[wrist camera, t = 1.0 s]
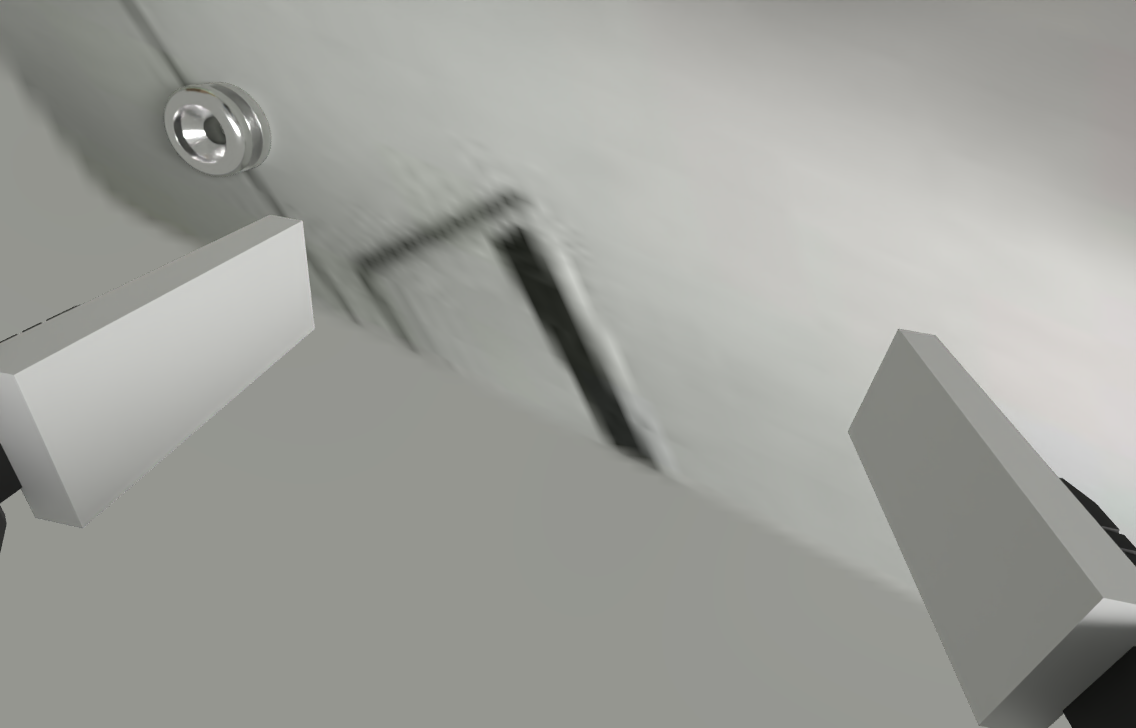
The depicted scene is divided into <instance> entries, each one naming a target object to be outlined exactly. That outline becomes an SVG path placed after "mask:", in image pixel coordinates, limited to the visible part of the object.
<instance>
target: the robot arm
mask: <svg viewBox="0 0 1136 728" xmlns="http://www.w3.org/2000/svg"><path fill="white" fill-rule="evenodd" d="M314 329H315V325H314V316H313V308H312V299H311V290H310V281H309V273H308V264H307V255H306V247H305V238H304V229H303V221H302V220H297V219H291V218H285V217H280V216H274V215H268V216H266V217H264V218H262V219H260V220H258V221H256V222H254V223H251V224H249V225H247V226H245V227H243V228H241V229H239V230H237V231H235V232H233V233H230V234H228V235H226V236H224V237H222V238H220V239H218V240H216V241H214V242H212V243H209V244H207V245H205V246H203V247H201V248H199V249H197V250H195V251H193V252H191V253H188V254H186V255H184V256H182V257H180V258H178V259H176V260H174V261H172V262H170V263H167V264H165V265H163V266H161V267H159V268H157V269H155V270H153V271H151V272H149V273H147V274H144V275H142V276H140V277H138V278H136V279H134V280H132V281H130V282H128V283H125V284H123V285H121V286H119V287H117V288H115V289H113V290H111V291H109V292H107V293H105V294H102V295H100V296H98V297H96V298H94V299H92V300H90V301H88V302H86V303H83V304H81V305H78V306H75V307H72V308H70V309H69V310H66V311H64V312H62V313H60V314H58V315H56V316H53V317H52V318H49V319H47V320H46V322H44V323H39V324H37V325H35V326H32V327H30V328H28V329H26V330H24V331H23V332H22V333H21V334H18V335H17V334H16V335H13V336H11V337H9V338H7V339H5V340H3V341H1V342H0V503H1V502H3V501H4V500H5V499H7V498H8V497H10V496H11V495H12V494H14V493H15V492H17V491H18V490H19V489H21V490H22V492H23V494H24V496H25V498H26V500H27V502H28V504H29V506H30V508H31V510H32V512H33V514H34V516H35V518H38V519H43V520H48V521H52V522H56V523H61V524H66V525H70V526H75V527H79V528H84V527H85V526H86V525H87V524H88V523H90V522H91V521H92V520H93V519H94V518H95V517H96V516H98V515H99V514H100V513H101V512H102V511H103V510H105V509H106V508H107V507H108V506H109V505H110V504H111V503H113V502H114V501H115V500H116V499H117V498H119V497H120V496H121V495H122V494H123V493H124V492H126V491H127V490H128V489H129V488H130V487H131V486H133V485H134V484H135V483H136V482H137V481H138V480H140V479H141V478H142V477H143V476H144V475H145V474H146V473H148V472H149V471H150V470H151V469H152V468H153V467H155V466H156V465H157V464H158V463H159V462H160V461H162V460H163V459H164V458H165V457H166V456H167V455H169V454H170V453H171V452H172V451H173V450H174V449H175V448H177V447H178V446H179V445H180V444H181V443H182V442H184V441H185V440H186V439H187V438H188V437H190V436H191V435H192V434H193V433H194V432H195V431H196V430H198V429H199V428H200V427H201V426H202V425H203V424H205V423H206V422H207V421H208V420H209V419H210V418H211V417H213V416H214V415H215V414H216V413H217V412H219V411H220V410H221V409H222V408H223V407H224V406H226V405H227V404H228V403H229V402H230V401H231V400H232V399H234V398H235V397H236V396H237V395H238V394H239V393H241V392H242V391H243V390H244V389H245V388H246V387H248V386H249V385H250V384H251V383H252V382H253V381H255V380H256V379H257V378H258V377H259V376H260V375H262V374H263V373H264V372H265V371H266V370H267V369H268V368H270V367H271V366H272V365H273V364H274V363H276V362H277V361H278V360H279V359H280V358H281V357H283V356H284V355H285V354H286V353H287V352H288V351H289V350H291V349H292V348H293V347H294V346H295V345H296V344H298V343H299V342H300V341H301V340H302V339H303V338H305V337H306V336H307V335H308V334H309V333H310V332H311V331H313V330H314ZM848 433H849V435H850V437H851V440H852V442H853V444H854V446H855V449H856V451H857V453H858V455H859V457H860V460H861V462H862V464H863V466H864V469H865V471H866V473H867V475H868V478H869V480H870V482H871V484H872V487H873V489H874V491H875V493H876V496H877V498H878V500H879V502H880V505H881V507H882V509H883V511H884V514H885V516H886V518H887V520H888V523H889V525H890V527H891V529H892V532H893V534H894V536H895V538H896V541H897V543H898V545H899V547H900V550H901V552H902V554H903V556H904V559H905V561H906V563H907V565H908V568H909V570H910V572H911V574H912V577H913V579H914V581H915V583H916V586H917V588H918V590H919V592H920V595H921V597H922V599H923V601H924V604H925V606H926V608H927V610H928V613H929V615H930V617H931V619H932V622H933V624H934V626H935V628H936V631H937V633H938V635H939V637H940V640H941V642H942V644H943V646H944V649H945V651H946V653H947V655H948V658H949V660H950V662H951V664H952V667H953V669H954V671H955V673H956V676H957V678H958V680H959V682H960V685H961V687H962V689H963V691H964V694H965V696H966V698H967V700H968V703H969V705H970V707H971V709H972V712H973V714H974V716H975V718H976V720H977V723H978V725H979V726H984V727H988V728H1048V727H1049V726H1050V725H1051V724H1053V723H1054V722H1055V721H1056V720H1057V719H1058V718H1059V717H1060V716H1061V715H1062V714H1063V713H1064V714H1065V716H1066V718H1067V720H1068V721H1069V723H1070V725H1071V727H1072V728H1136V548H1135V546H1134V545H1133V544H1132V543H1131V542H1130V541H1129V540H1128V539H1127V538H1126V536H1125V535H1122V534H1119V529H1118V527H1117V526H1116V525H1115V524H1114V523H1113V522H1112V521H1111V520H1110V519H1109V517H1108V516H1107V515H1106V514H1105V513H1104V512H1103V511H1102V510H1101V509H1100V507H1099V506H1098V505H1097V504H1096V503H1095V502H1093V501H1092V500H1091V499H1089V498H1088V497H1087V496H1085V495H1084V494H1083V493H1081V492H1080V491H1079V490H1077V489H1076V488H1075V487H1073V486H1072V485H1071V484H1070V483H1068V482H1067V481H1066V480H1064V479H1063V478H1059V477H1058V476H1057V475H1056V474H1055V473H1054V472H1053V471H1052V469H1051V468H1050V467H1049V466H1048V465H1047V464H1046V462H1045V461H1044V460H1043V459H1042V458H1041V457H1040V455H1039V454H1038V453H1037V452H1036V451H1035V450H1034V449H1033V447H1032V446H1031V445H1030V444H1029V443H1028V442H1027V440H1026V439H1025V438H1024V437H1023V436H1022V435H1021V434H1020V432H1019V431H1018V430H1017V429H1016V428H1015V427H1014V425H1013V424H1012V423H1011V422H1010V421H1009V420H1008V418H1007V417H1006V416H1005V415H1004V414H1003V413H1002V412H1001V410H1000V409H999V408H998V407H997V406H996V405H995V403H994V402H993V401H992V400H991V399H990V398H989V397H988V395H987V394H986V393H985V392H984V391H983V390H982V388H981V387H980V386H979V385H978V384H977V383H976V382H975V380H974V379H973V378H972V377H971V376H970V375H969V373H968V372H967V371H966V370H965V369H964V368H963V366H962V365H961V364H960V363H959V362H958V361H957V360H956V358H955V357H954V356H953V355H952V354H951V353H950V351H949V350H948V349H947V348H946V347H945V346H944V345H943V343H942V342H941V341H940V340H939V339H938V338H937V336H936V335H931V334H925V333H920V332H914V331H909V330H903V329H898V331H897V333H896V335H895V337H894V339H893V341H892V343H891V345H890V347H889V349H888V351H887V353H886V355H885V357H884V359H883V361H882V363H881V365H880V367H879V369H878V371H877V373H876V375H875V377H874V379H873V381H872V383H871V385H870V387H869V390H868V392H867V394H866V396H865V398H864V400H863V402H862V404H861V406H860V408H859V410H858V412H857V414H856V416H855V418H854V420H853V422H852V424H851V426H850V428H849V430H848ZM5 529H6V518H5V514H4V512H3V511H2V508H1V506H0V551H1V547H2V542H3V538H4V533H5Z"/></svg>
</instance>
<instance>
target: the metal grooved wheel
mask: <svg viewBox="0 0 1136 728" xmlns="http://www.w3.org/2000/svg"><path fill="white" fill-rule="evenodd" d="M163 120H164V127H165V131H166V134H167V137H168V139H169V141H170V143H171V145H172V147H173V148H174V150H175V151H176V153H177V154H178V155H179V156H180V157H181V158H182V159H183V160H184V161H185V162H186V163H187V164H188V165H189V166H191V167H192V168H194V169H195V170H197V171H199V172H201V173H203V174H206V175H209V176H214V177H227V176H231V175H234V174H237V173H239V172H243V171H246V170H250V169H253V168H255V167H258V166H259V165H261V164H262V163H263V162H264V161H265V160H266V158H267V157H268V155H269V152H270V149H271V130H270V126H269V123H268V120H267V118H266V116H265V114H264V112H263V110H262V109H261V107H260V106H259V104H258V103H257V102H256V101H255V100H254V99H253V98H252V97H251V96H250V95H249V94H248V93H247V92H245V91H244V90H242V89H241V88H239V87H237V86H235V85H232V84H229V83H224V82H215V83H206V84H201V85H199V84H196V85H187V86H183V87H181V88H179V89H177V90H176V91H174V92H173V93H172V94H171V95H170V97H169V98H168V100H167V102H166V104H165V107H164V114H163ZM220 124H221V126H222V128H223V130H224V133H225V134H224V133H223V131H222V129H221V126H220Z"/></svg>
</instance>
